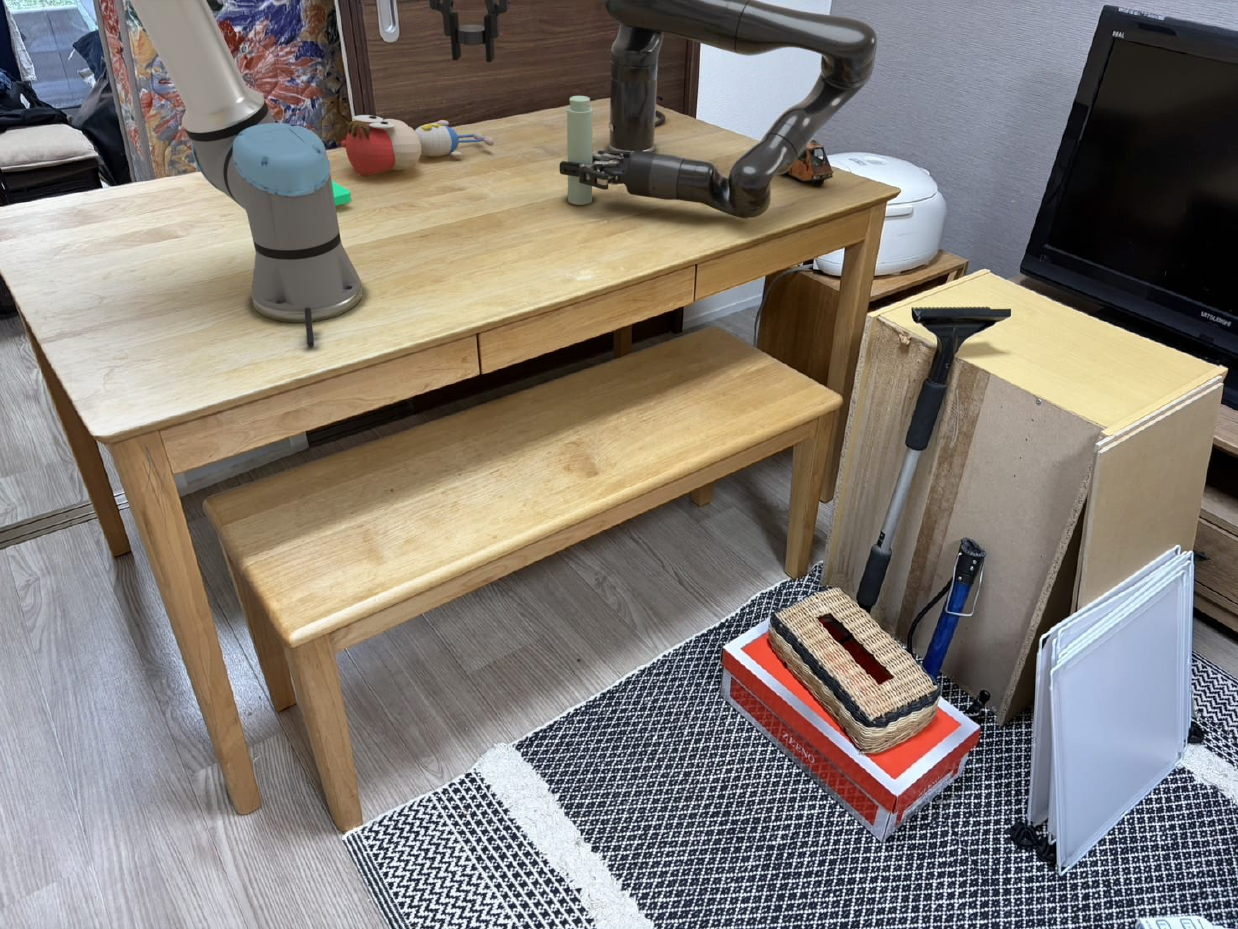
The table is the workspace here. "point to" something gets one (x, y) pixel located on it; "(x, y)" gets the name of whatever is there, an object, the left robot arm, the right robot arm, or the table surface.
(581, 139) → the jar
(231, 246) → the table surface
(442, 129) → the toy
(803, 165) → the toy car
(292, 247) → the left robot arm
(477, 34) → the lid
